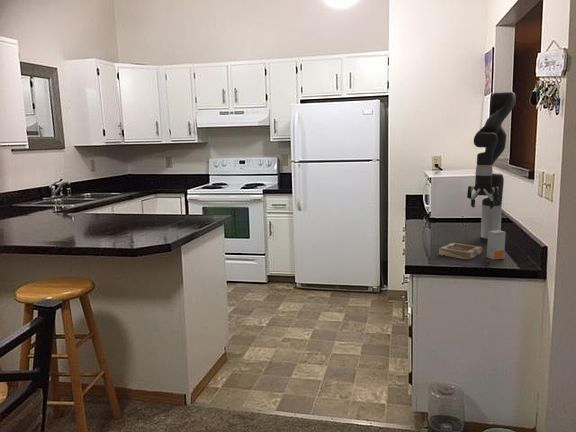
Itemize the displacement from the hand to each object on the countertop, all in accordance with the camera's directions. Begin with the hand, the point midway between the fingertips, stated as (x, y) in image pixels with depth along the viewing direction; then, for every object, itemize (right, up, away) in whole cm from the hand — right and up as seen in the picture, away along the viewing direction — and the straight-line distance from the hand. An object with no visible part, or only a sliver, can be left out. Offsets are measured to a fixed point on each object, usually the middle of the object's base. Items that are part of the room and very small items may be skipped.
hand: (482, 207), depth 238 cm
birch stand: (-16, -21, -15) cm, 30 cm away
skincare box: (-4, -23, -24) cm, 33 cm away
